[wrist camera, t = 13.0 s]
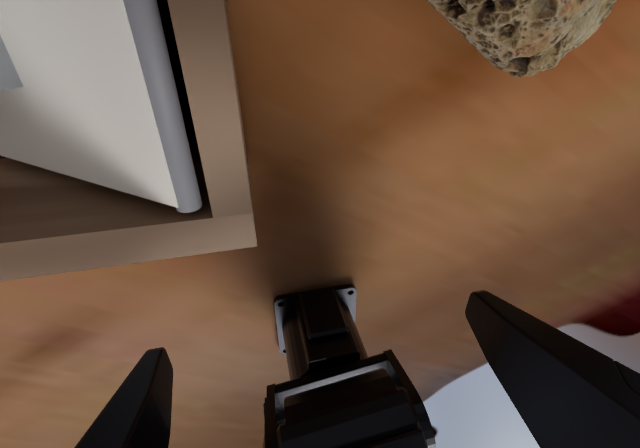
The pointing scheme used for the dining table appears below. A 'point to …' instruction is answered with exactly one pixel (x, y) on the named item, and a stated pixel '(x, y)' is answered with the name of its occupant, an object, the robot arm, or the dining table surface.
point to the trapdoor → (96, 97)
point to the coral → (525, 29)
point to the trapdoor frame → (133, 211)
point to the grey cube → (7, 70)
